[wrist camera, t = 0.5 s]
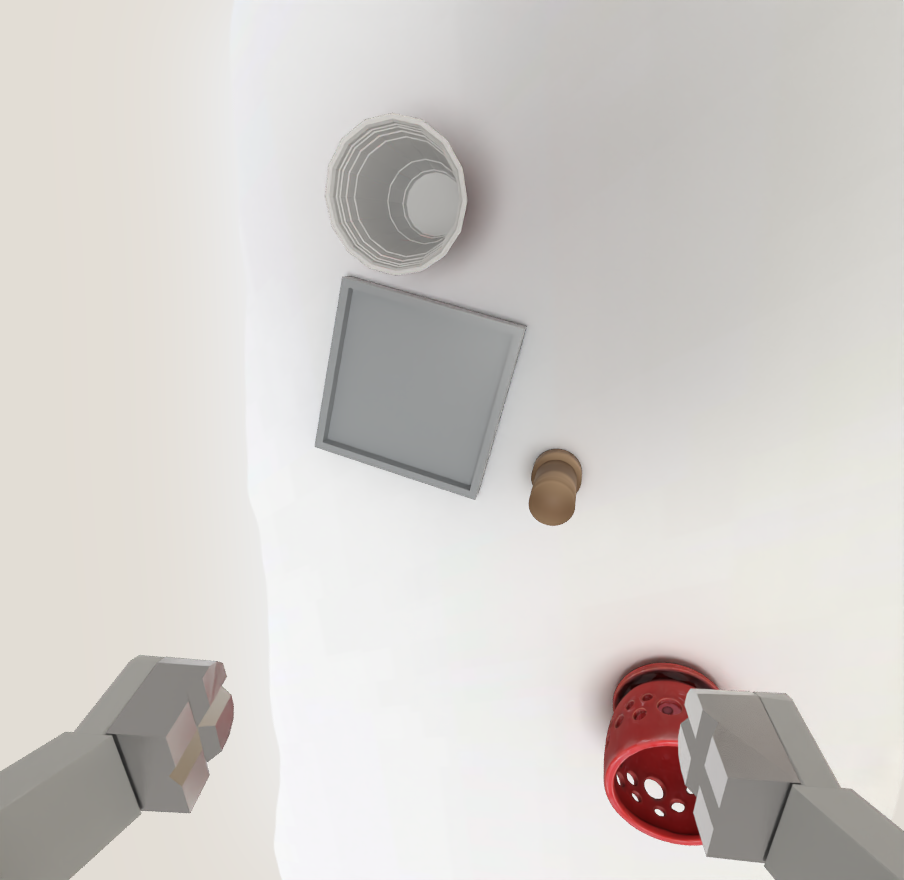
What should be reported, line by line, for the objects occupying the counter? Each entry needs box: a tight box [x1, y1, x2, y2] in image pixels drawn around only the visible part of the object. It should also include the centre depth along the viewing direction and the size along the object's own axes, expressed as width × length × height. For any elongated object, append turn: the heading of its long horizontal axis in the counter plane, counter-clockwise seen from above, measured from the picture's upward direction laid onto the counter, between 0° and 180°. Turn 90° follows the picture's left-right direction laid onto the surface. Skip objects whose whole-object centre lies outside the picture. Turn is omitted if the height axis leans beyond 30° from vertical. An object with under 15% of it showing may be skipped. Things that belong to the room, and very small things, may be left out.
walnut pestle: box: [529, 449, 582, 526], centre depth 54 cm, size 5×5×8 cm
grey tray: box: [315, 276, 527, 500], centre depth 57 cm, size 18×18×2 cm
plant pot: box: [604, 663, 719, 845], centre depth 57 cm, size 13×13×12 cm
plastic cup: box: [325, 113, 467, 276], centre depth 47 cm, size 11×11×12 cm
